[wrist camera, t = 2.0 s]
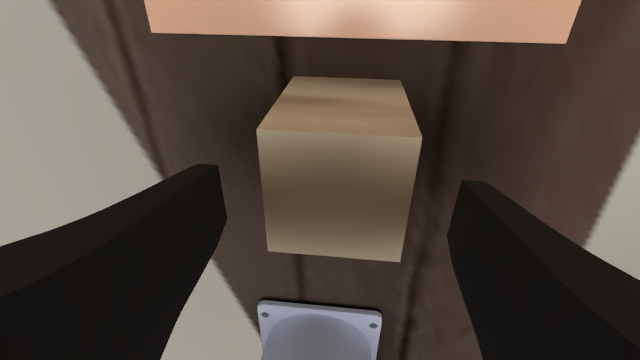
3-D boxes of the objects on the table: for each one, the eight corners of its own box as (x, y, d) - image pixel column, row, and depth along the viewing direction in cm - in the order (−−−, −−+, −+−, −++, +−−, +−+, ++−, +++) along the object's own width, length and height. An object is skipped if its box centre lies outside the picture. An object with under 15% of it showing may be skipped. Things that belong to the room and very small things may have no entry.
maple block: (388, 173, 16) (399, 262, 11) (296, 167, 17) (267, 251, 12) (400, 79, 14) (422, 137, 9) (294, 76, 14) (256, 129, 9)
